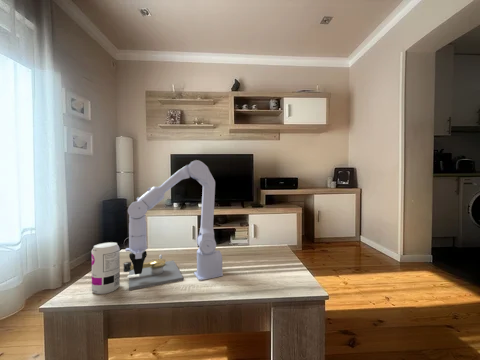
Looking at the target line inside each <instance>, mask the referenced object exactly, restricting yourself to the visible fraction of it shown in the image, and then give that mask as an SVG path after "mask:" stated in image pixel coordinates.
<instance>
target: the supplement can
mask: <svg viewBox="0 0 480 360" xmlns="http://www.w3.org/2000/svg"><path fill="white" fill-rule="evenodd" d="M120 254H121V253H120V246H119V245H118V242H113V241H110V242H109V241H107V242H102V243H98V244H95V245H93V248H92V249H91V292H92V293H94V294H95V295H105V294H109V293H112V292H114V291H116V290H117V289H118V288H119V287H120V284H121V283H120V282H121V280H120V277H121V275H120V273H121V270H120V267H121V266H120V262H121V261H120V258H121V257H120V256H121V255H120Z"/></svg>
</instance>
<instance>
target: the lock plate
mask: <svg viewBox="0 0 480 360" xmlns="http://www.w3.org/2000/svg"><path fill="white" fill-rule="evenodd" d="M158 257H159V258H158V259H163V254H159V256H158ZM165 263H166V265H165V266H163V267H160V268H150V267H148V268H143V269H142V273H141V274H136V275H135V273H134V270H131V271H129V272H128V275H127V279H128V291H133V290H138V289H144V288H149V287H155V286H161V285H164V284H165V285H166V284H170V283H174V282H175V283H177V282H181V281H184V277H183V275H182V273H181V271H180V269H179V267H178V265H177V264H176V262H175V260H170V261H169V260H168V261H165Z"/></svg>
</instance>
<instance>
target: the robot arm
mask: <svg viewBox="0 0 480 360" xmlns="http://www.w3.org/2000/svg"><path fill="white" fill-rule="evenodd" d="M190 178H192V179H193V180H196V181H197V182H198V183H199V184H200V185H201V186H202V188H201V189H202V192H201V193H202V194H201V195H202V196H201V209H200V210H201V213H200V228H199V233H198V235H197V238H196V244H197V245H198V249H197V250H196V271H194V272H193V274H194V276H195V277H196V279H197V280H198V281H204V280H209V279H215V278H218V277H219V278H221V277H223V276H224V274H223V254H222V252H221V251H220V250H216V248H217V242H216V239H215V230H214V219H215V218H214V216H215V215H214V214H215V197H216V196H215V195H216V180H215V179H214V177H213V175H212V173H211V171H210V168H209V166H207V165H206V164H205V163H204V162H203V161H201V160H199V159H198V160H197V159H195V160H193V161H190V163H189V164H186V165H185V166H183V167H182V168H180V169H178V170H177V171H176V172H174V173H173V174H172V175H171V176H170V177H169V178H168V179H166V180H165V181H164V182H162V184H161V185H159V186H152V187H148V188H147V189H146V190H147V191H146V192H144V193H143V194H142V195H141V196H140V197H139V196H137V198H136V201H133V202H131V204H130V205H129V206H128V207H127V213H128V215H129V218H128V220H129V221H128V222H129V223H128V247H126V248H125V252H130V253H129V255H128V256H129V259H130V262H131V265H132V264H133V268H134V273H135V275H136V274H141V273H142V269H143V263H145V260H146V257H147V255H148V254H147V250H148V244H147V243H148V241H147V238H148V237H147V217H146V214H147V212H148V211H149V210H152V209H153V208H154V207H156V205H158V204H159V203H161V202H162V201H163V200H164V199H165V195H166V194H165V193H166V192H168V191H169V190H171V189H172V188H173V187H174V186H176V184H178V183H180V182H181V181H183V180H186V179H190Z"/></svg>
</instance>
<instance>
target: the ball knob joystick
mask: <svg viewBox="0 0 480 360" xmlns="http://www.w3.org/2000/svg"><path fill="white" fill-rule="evenodd" d="M165 262H166V259H165V258H162V259H159V258H156V259H152V260H150V261H147V262H144V263H143V268H148V267H150V268H160V267H163V266H165V265H166V263H165ZM131 270H134V268H133V264H132V261H126V262H124V263H123V273H129V271H131Z"/></svg>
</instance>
